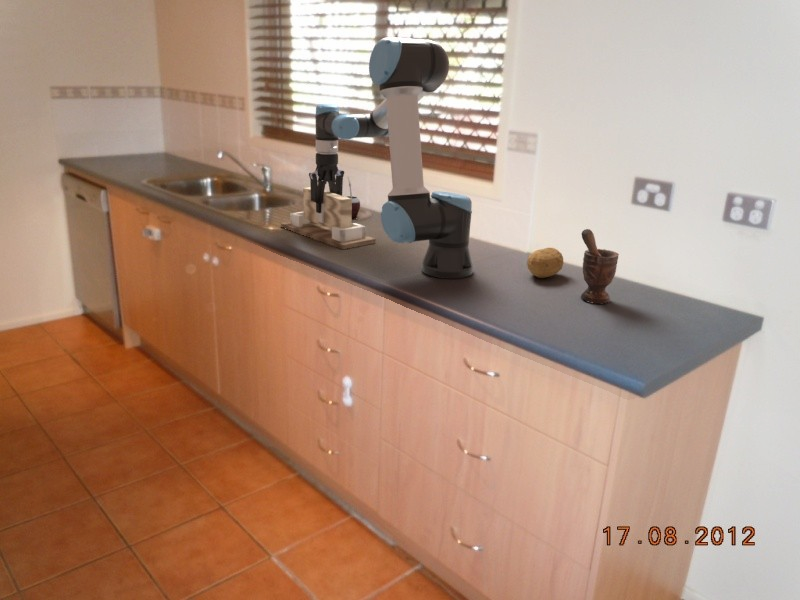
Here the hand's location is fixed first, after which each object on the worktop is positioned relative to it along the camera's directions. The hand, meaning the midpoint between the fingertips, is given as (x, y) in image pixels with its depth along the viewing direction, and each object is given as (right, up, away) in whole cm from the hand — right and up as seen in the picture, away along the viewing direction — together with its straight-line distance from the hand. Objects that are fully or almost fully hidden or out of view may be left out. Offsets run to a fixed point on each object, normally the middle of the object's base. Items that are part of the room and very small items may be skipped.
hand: (326, 220), depth 230 cm
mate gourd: (+6, +5, +29) cm, 30 cm away
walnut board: (0, -5, +2) cm, 5 cm away
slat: (0, -1, 0) cm, 1 cm away
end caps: (0, -3, +1) cm, 3 cm away
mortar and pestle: (+77, -28, -54) cm, 97 cm away
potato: (+67, -21, -34) cm, 78 cm away
